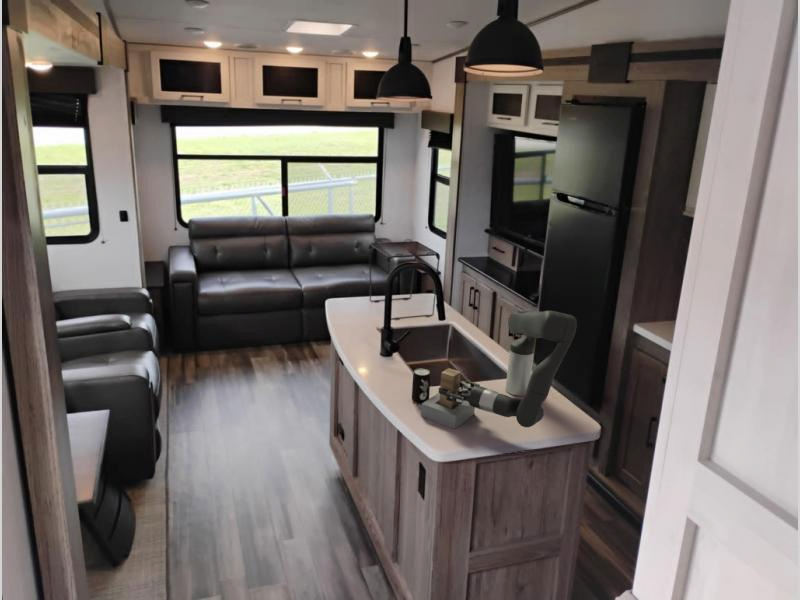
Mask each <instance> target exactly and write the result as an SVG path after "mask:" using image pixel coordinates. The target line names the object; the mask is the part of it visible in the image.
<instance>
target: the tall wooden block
mask: <svg viewBox="0 0 800 600" xmlns="http://www.w3.org/2000/svg"><path fill="white" fill-rule="evenodd" d="M440 375H441V376H440V386H439V388H440V387H442V388H445V389H448V390H455V389H461V388H460V382H461V371H459V370H456V369H453V368H450V367H448V368H446V369H445V370H443V371H441V374H440ZM452 394H454V393H452ZM457 395H458V392H457ZM451 399H452V398H451ZM439 405H441V406H444V407H446V408H449V409H452V410H453V409H454V408H455V407H457V406H458V404H457V403H454V402H451V401H448V400H446V396H445V395H442V394H440V399H439Z"/></svg>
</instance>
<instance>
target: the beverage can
mask: <svg viewBox="0 0 800 600" xmlns="http://www.w3.org/2000/svg"><path fill="white" fill-rule="evenodd" d="M431 378H432V377H431V374H430V370H429V369H427V368H426V369H425V368H421V367H420V368H416V369H414V370H413V374H412V383H411V384H412V388H411V401H412V402H413V403H415V404H419V405H422V403H424V402H425V401H427V400H428V399H430V394H431V393H430V391H431Z"/></svg>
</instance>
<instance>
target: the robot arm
mask: <svg viewBox="0 0 800 600" xmlns="http://www.w3.org/2000/svg"><path fill="white" fill-rule="evenodd" d="M507 320H508V321H507V327H508V329H509V331H510V332H511V334H512V335H514V336H515V335H516V336H522V337H520V338H518V339H517V338H516V339H515V340H512V342H511V343H510V346H509V354H508V355H509V356H508V364H507V373H506V381H505V382H506V383H505V391H506V392H507V393H508V394H510V395H512V396H519V397H522V398H519V397H512V396H509V395H507V394H504V393H503V394H502V393H500V392H498V391H496V390H493V389H491V388H487V387H483V386H481V384H478V383H476V382H473V381H471V380H467V379H465V381H460V388H459V389H455V390H448V389H445V388H442V387H440V386H439V387H438V393H440V394H442V395H445V396H446V400H448V401H451V402H454V403H457V404H462V401H468V402H469V404H470V405H471V406H472V407H475V409H479V410H482V411H485V412H486V413H487V412H488V413H492V414H495V415H498V416H501V417H504V418H510V417H515V418H516V421H517V424H519V426H521V427H523V428H531V427H533V426H535V425H536V424H537V423H539V422H540V421H541V420H542V419H543V417H544V415H545V413H544V409H543V406H542V405H543V404H544V402H545V401H546V399H547V397H548V396H549V392H550V390H551V387H552V384H553V382H554V378H555V375H556V373H557V372H558V370H559V368H560V365H561V364H562V362H563V359H564V358H565V356H566V354H567V352H568V350H569V348H570V346H571V344H572V342H573V339H574V337H575V334H576V331H577V327H578V324H577V322H578V321H577V318H576V317H575V316H573V315H572V314H567V313H563V312H559V311H554V310H545V311H537V310H536V311H535V310H533V311H532V310H515V311H512V312H511V313H510V314H509V317H508V319H507ZM541 338H542V339H545V340H548V341H551V342H556V343H557V344H556V346H555V348H554V349H553V350H552V352H551V353H550V354H549V355H548V356H547V357H546V358H544V359H543V360H542V361H541V362H540V363H539V364H538V365H537V366H536V367H535V368H534V369H533V362H534V356H535V355H534V353H535V347H536V341H537V339H541ZM532 370H533V371H532ZM457 392H458V395H457ZM452 393H454V394H452ZM451 398H452V399H451Z"/></svg>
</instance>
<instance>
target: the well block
mask: <svg viewBox="0 0 800 600" xmlns="http://www.w3.org/2000/svg"><path fill="white" fill-rule="evenodd" d="M439 399H440V393H439V392H437V393H436V394H435V395H433V396H431V397H429V399H428V400H427V401H425V402H424V403H422V404H421V414H420V416H421V417H422V418H425V419H427V420H430V421H433V422H435V423H438V424H441V425H444V426H446V427H448V428H452V429H457V428H458V427H459V426H460V425H462V424H463V423H465V422H466V421H468V419H470V418H471V417H472V416H474V415H475V411H476V408H475V407H472V406H471V405H470V404H469V402H468V401H462V404H458V406H457V407H455V408H454V409H453V410H452V409H449V408H446V407H444V406H441V405H439ZM469 417H470V418H469Z"/></svg>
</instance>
